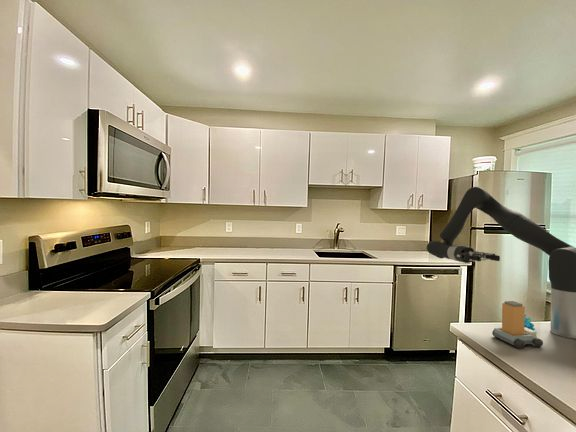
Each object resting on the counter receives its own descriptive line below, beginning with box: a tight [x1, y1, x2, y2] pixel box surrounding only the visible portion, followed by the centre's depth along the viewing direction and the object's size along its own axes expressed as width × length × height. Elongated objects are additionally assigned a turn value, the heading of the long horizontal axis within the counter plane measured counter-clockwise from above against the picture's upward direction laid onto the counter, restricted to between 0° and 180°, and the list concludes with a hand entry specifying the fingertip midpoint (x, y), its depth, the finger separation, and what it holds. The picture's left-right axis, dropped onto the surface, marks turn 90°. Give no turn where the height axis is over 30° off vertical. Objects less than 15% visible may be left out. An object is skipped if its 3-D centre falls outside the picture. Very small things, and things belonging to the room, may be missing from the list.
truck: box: [492, 327, 544, 350], centre depth 105 cm, size 11×10×4 cm
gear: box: [524, 314, 536, 331], centre depth 119 cm, size 11×6×10 cm
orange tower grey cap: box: [501, 300, 526, 336], centre depth 105 cm, size 4×4×12 cm
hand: (489, 258), depth 119 cm, fingers open, 8 cm apart
